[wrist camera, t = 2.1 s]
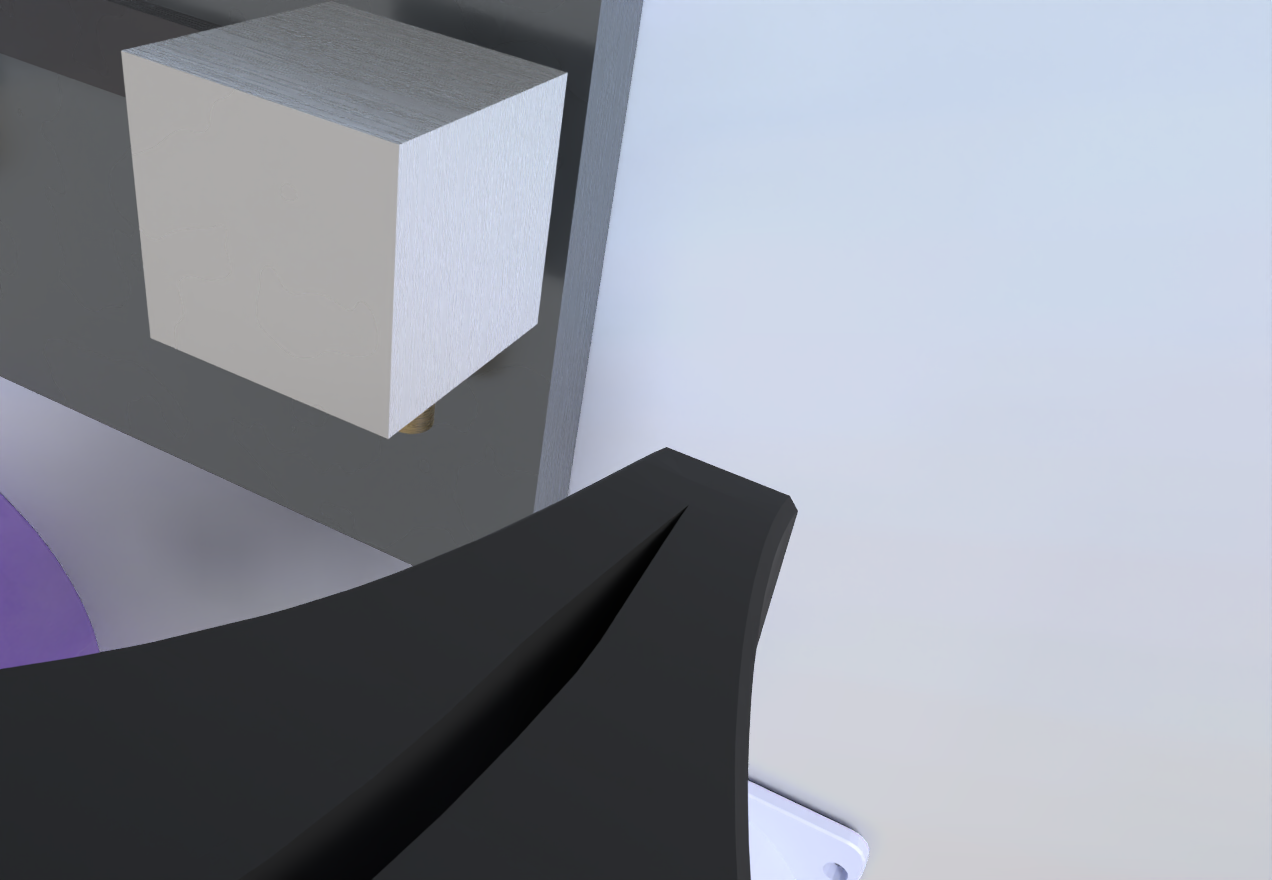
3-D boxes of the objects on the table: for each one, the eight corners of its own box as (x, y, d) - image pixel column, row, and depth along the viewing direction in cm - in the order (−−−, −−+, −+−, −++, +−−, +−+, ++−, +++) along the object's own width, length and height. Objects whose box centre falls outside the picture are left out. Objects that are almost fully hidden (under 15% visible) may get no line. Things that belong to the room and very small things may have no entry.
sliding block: (534, 438, 19) (382, 580, 16) (345, 361, 21) (165, 479, 17) (581, 66, 16) (399, 144, 12) (350, -4, 17) (120, 50, 13)
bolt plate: (555, 573, 23) (385, 770, 19) (-66, 298, 28) (-324, 400, 24) (670, -174, 16) (427, -158, 11) (-216, -377, 20) (-648, -427, 16)
